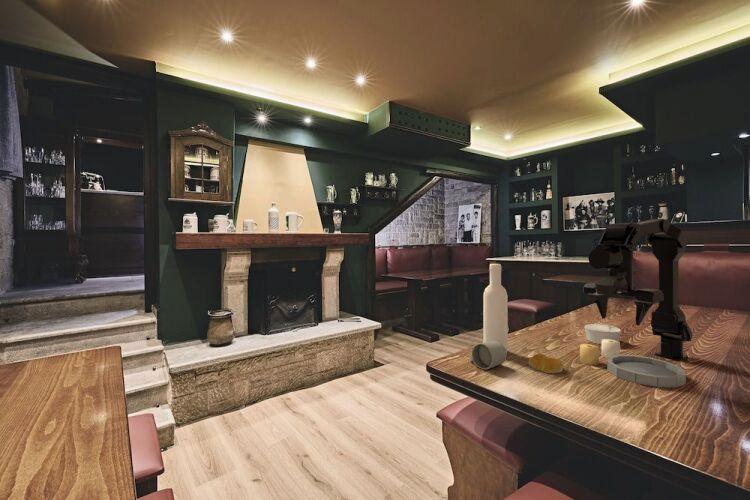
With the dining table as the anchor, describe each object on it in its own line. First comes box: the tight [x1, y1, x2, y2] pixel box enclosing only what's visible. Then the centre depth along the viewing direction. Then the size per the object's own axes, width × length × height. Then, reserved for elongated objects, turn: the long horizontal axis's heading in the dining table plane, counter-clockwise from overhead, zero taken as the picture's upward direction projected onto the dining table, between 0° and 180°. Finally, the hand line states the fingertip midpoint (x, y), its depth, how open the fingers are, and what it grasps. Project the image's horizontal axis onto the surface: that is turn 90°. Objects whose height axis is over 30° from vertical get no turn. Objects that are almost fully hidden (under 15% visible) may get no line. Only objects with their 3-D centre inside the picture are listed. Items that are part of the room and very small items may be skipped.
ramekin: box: [584, 323, 622, 346], centre depth 129 cm, size 11×11×5 cm
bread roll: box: [528, 353, 564, 374], centre depth 104 cm, size 8×9×4 cm
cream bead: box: [600, 339, 621, 359], centre depth 113 cm, size 5×5×5 cm
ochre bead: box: [579, 343, 600, 366], centre depth 108 cm, size 5×5×5 cm
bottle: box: [482, 263, 509, 354], centre depth 118 cm, size 8×8×30 cm
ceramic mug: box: [469, 341, 508, 371], centre depth 107 cm, size 11×8×8 cm
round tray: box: [606, 354, 687, 388], centre depth 98 cm, size 17×17×3 cm
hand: (620, 321), depth 99 cm, fingers open, 9 cm apart
